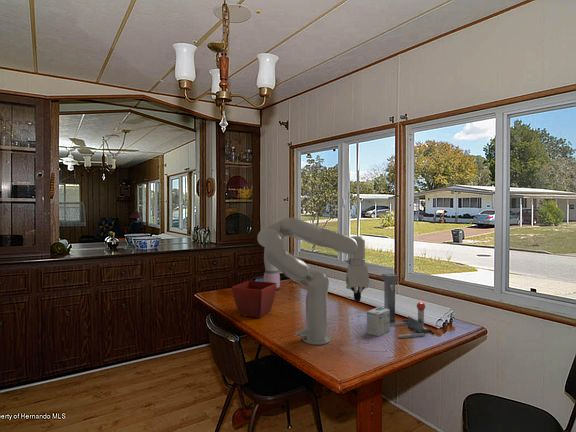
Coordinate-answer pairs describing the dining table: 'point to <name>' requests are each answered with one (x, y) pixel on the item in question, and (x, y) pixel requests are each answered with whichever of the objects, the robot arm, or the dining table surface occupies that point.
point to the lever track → (422, 330)
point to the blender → (271, 272)
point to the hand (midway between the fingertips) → (357, 300)
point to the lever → (421, 314)
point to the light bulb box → (378, 321)
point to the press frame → (390, 304)
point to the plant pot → (254, 297)
